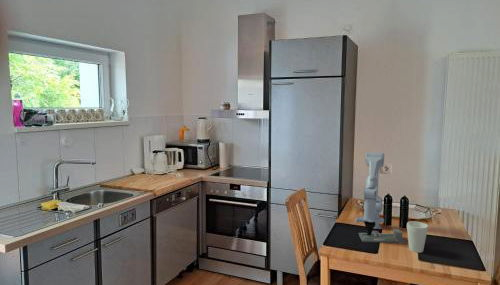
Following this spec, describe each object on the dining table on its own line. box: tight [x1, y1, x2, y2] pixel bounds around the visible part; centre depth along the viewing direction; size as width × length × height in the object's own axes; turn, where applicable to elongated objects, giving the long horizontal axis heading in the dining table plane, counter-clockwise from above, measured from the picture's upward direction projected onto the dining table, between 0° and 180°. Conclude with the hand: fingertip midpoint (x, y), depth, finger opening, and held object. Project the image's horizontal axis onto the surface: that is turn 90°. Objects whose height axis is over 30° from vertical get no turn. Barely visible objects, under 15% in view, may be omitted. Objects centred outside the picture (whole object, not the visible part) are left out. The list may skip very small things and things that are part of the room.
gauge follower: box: [372, 230, 380, 237], centre depth 185 cm, size 6×3×2 cm, turn 175°
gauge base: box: [358, 228, 407, 244], centre depth 186 cm, size 10×22×4 cm, turn 85°
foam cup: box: [406, 220, 429, 254], centre depth 171 cm, size 10×9×13 cm
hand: (369, 234), depth 186 cm, fingers closed
